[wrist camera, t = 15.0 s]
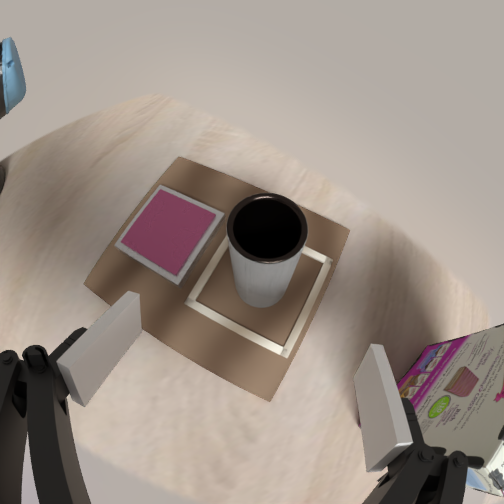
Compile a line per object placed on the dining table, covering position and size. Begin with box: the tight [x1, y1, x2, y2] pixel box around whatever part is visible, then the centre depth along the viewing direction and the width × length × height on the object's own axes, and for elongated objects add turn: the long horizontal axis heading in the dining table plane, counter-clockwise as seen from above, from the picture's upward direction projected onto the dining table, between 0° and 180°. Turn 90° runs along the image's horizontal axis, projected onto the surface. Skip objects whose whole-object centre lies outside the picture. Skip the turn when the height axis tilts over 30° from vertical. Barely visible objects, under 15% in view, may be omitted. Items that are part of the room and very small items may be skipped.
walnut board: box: [84, 157, 350, 402], centre depth 26 cm, size 21×18×1 cm
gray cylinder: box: [226, 193, 308, 308], centre depth 20 cm, size 4×4×10 cm
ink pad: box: [114, 185, 226, 289], centre depth 26 cm, size 8×8×2 cm
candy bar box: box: [358, 324, 504, 497], centre depth 13 cm, size 11×5×16 cm, turn 129°
